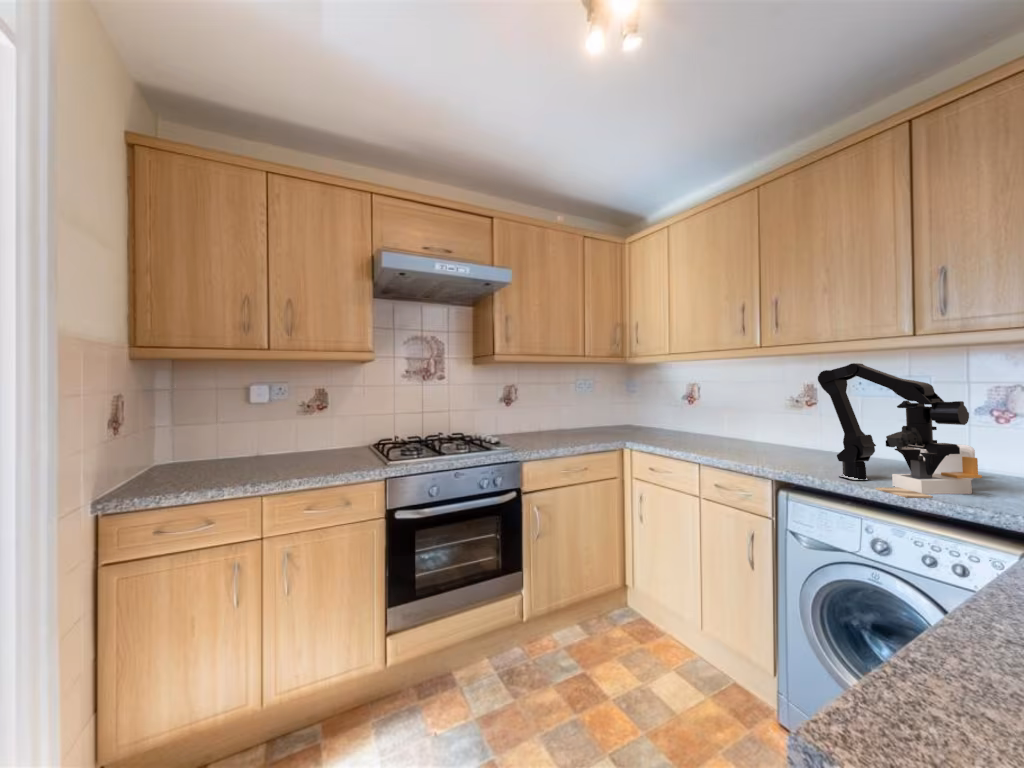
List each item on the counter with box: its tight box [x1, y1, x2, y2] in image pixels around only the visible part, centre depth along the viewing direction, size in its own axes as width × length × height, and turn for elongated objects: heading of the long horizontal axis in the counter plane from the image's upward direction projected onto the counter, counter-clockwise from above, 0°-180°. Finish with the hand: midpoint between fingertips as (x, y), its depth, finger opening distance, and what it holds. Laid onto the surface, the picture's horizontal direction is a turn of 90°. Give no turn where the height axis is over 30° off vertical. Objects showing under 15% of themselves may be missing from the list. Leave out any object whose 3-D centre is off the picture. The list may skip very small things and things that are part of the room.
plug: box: [901, 456, 941, 479], centre depth 128 cm, size 6×7×8 cm
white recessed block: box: [891, 473, 973, 495], centre depth 127 cm, size 10×14×4 cm
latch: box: [941, 457, 983, 479], centre depth 127 cm, size 5×7×6 cm
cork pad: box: [875, 486, 933, 499], centre depth 124 cm, size 11×7×1 cm, turn 177°
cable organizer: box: [914, 443, 976, 481], centre depth 143 cm, size 15×11×12 cm
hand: (921, 473), depth 128 cm, fingers open, 5 cm apart
